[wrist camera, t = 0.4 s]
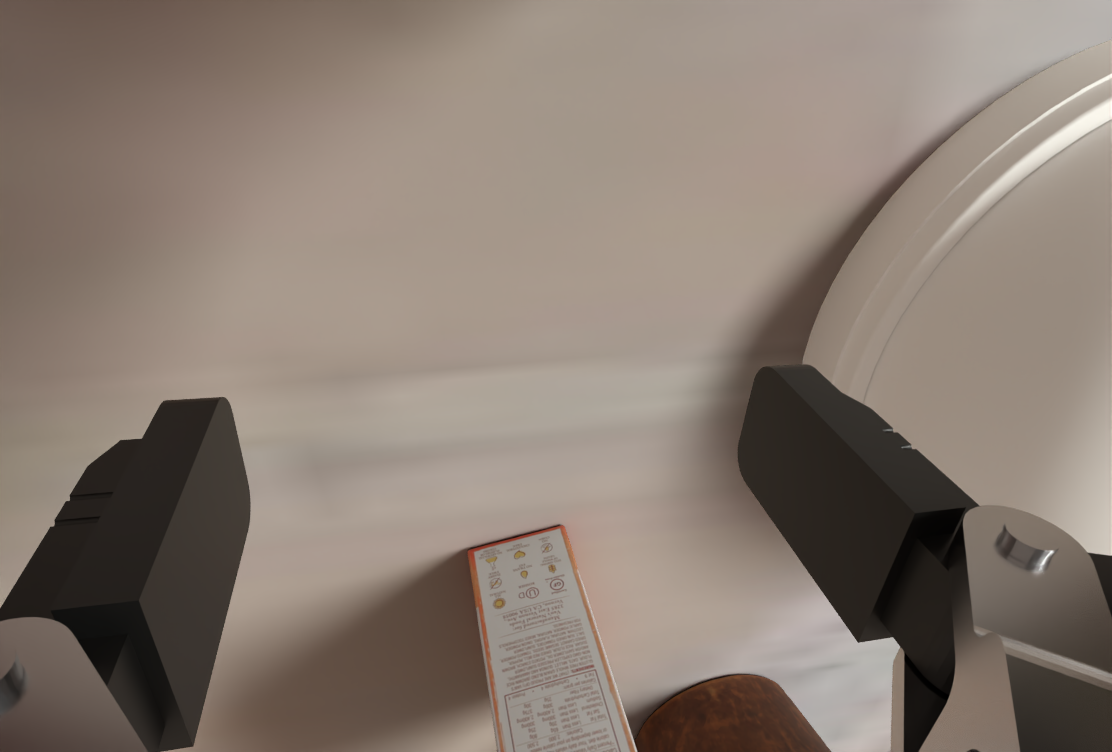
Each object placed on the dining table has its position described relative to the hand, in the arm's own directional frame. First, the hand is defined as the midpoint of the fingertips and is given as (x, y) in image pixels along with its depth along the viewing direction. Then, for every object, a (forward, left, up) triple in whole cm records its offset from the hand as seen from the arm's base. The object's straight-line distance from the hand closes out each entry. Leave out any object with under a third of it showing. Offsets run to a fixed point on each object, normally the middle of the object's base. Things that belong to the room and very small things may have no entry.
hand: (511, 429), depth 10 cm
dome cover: (+3, +34, -18) cm, 39 cm away
